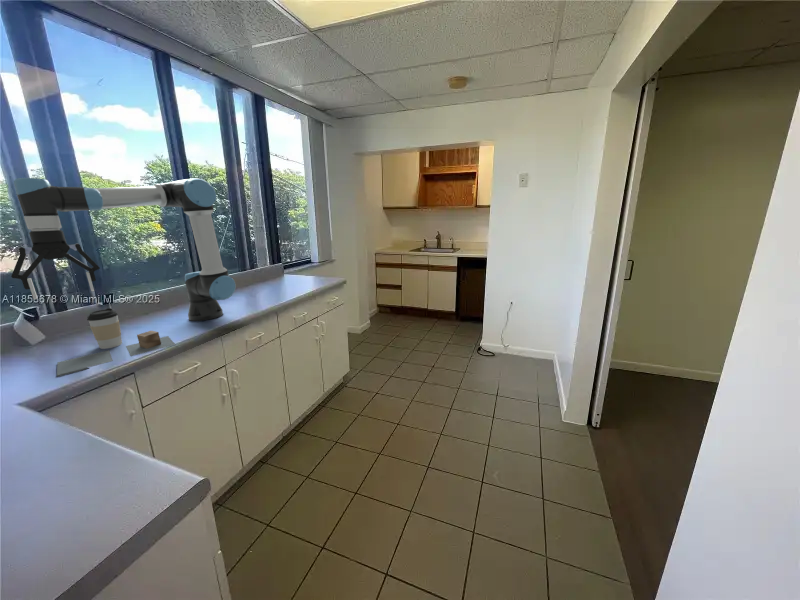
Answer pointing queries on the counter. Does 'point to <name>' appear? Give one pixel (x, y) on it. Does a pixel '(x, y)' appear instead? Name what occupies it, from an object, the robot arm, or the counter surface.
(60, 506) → the counter surface
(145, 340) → the walnut block
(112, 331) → the coffee cup
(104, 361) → the pad
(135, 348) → the pad
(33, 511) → the counter surface
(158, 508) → the counter surface
